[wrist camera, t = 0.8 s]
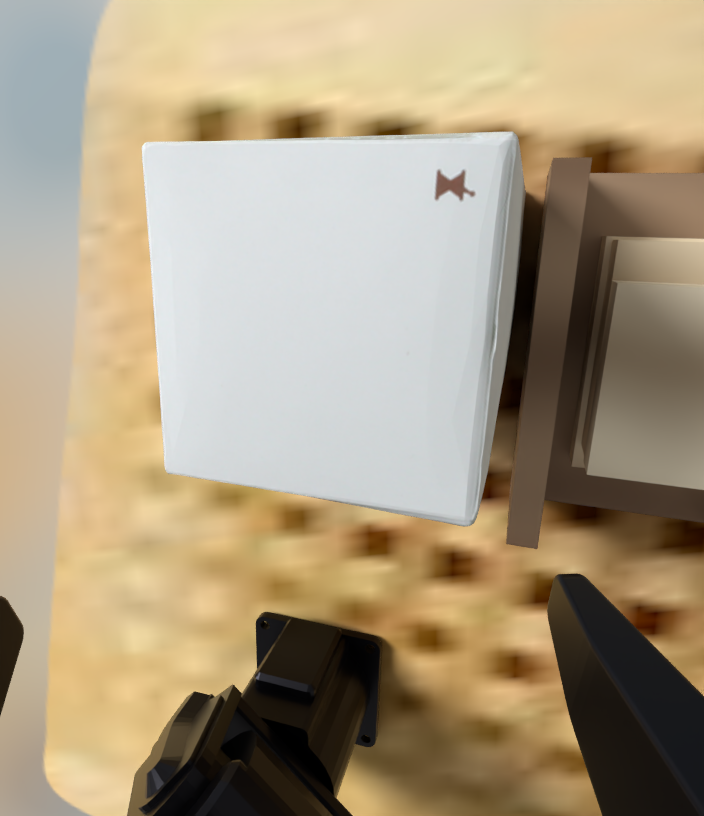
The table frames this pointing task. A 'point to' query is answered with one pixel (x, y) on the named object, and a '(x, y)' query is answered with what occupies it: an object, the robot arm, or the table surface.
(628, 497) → the tray
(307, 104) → the table surface
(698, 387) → the offcut stack
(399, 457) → the supplement box
